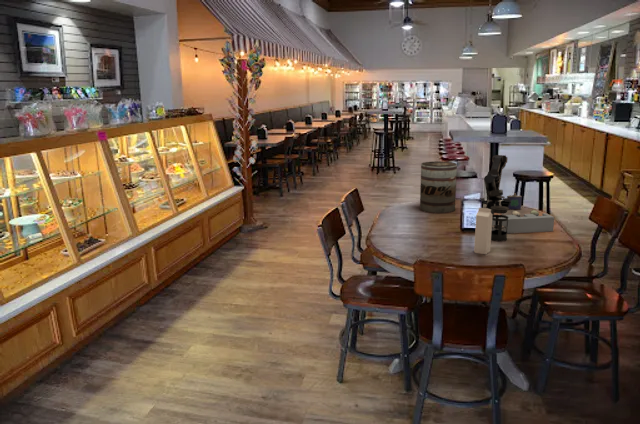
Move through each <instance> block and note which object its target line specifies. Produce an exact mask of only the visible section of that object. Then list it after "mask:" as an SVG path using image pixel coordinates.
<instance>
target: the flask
mask: <svg viewBox="0 0 640 424" xmlns="http://www.w3.org/2000/svg"><path fill="white" fill-rule="evenodd" d="M506 198H509V199H510V200H511V203H510V205H509V207H508V208H509V209H508V211H520V210H522V199H523V196H522V195H517V194H516V192H514V193H513V194H509V195H507V196H506Z"/></svg>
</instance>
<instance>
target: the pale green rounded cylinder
mask: <svg viewBox="0 0 640 424" xmlns="http://www.w3.org/2000/svg"><path fill="white" fill-rule="evenodd" d="M529 214H533V215H536V216H540V212H539V211H537V210H535V209H534V210H533V209H532V210H531V211H530V213H529Z"/></svg>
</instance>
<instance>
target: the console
mask: <svg viewBox="0 0 640 424" xmlns="http://www.w3.org/2000/svg"><path fill="white" fill-rule="evenodd" d="M505 216H507V217H508V226H507V221H502V225H503V226H507V235H508V234H528V233H545V232H547V233H548V232H554V228H555V227H554V226H555V217H554V216H553V215H550V214H548V213H545V212H544V213H541V215H539V216H536V215H533V214H530V213H526V214H523V216H520V217H517V216H515V215H512V214H505ZM492 218H496V217H492ZM499 219H506V218H502V217H501V218H499ZM492 225H495V221H493V220H492ZM492 230H494V229H492ZM502 231H505V232H506V229H505V230H502Z"/></svg>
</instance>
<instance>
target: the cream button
mask: <svg viewBox="0 0 640 424" xmlns="http://www.w3.org/2000/svg"><path fill="white" fill-rule="evenodd" d="M511 215H515V216H517V217H521V212H520V211H518V210H512V212H511Z"/></svg>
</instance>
